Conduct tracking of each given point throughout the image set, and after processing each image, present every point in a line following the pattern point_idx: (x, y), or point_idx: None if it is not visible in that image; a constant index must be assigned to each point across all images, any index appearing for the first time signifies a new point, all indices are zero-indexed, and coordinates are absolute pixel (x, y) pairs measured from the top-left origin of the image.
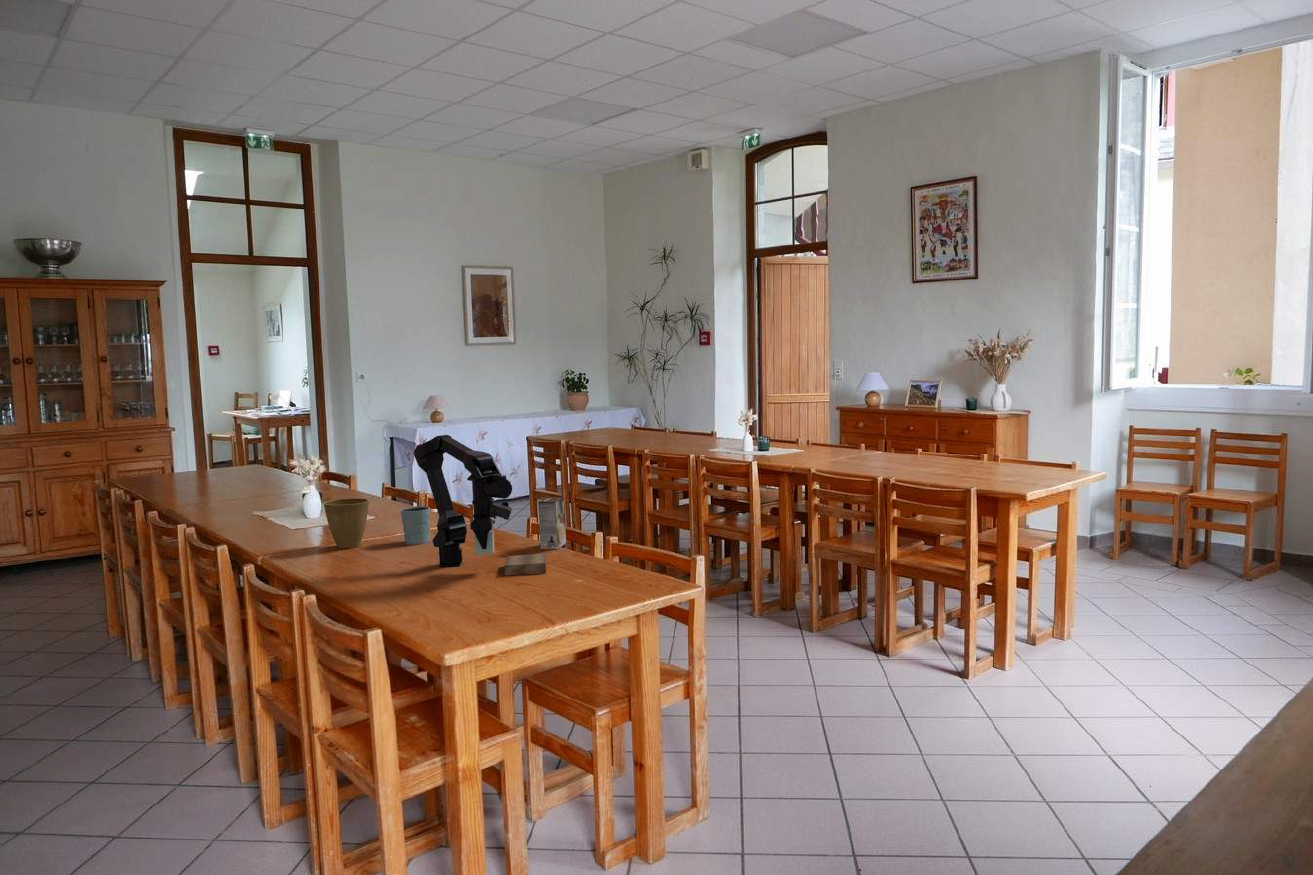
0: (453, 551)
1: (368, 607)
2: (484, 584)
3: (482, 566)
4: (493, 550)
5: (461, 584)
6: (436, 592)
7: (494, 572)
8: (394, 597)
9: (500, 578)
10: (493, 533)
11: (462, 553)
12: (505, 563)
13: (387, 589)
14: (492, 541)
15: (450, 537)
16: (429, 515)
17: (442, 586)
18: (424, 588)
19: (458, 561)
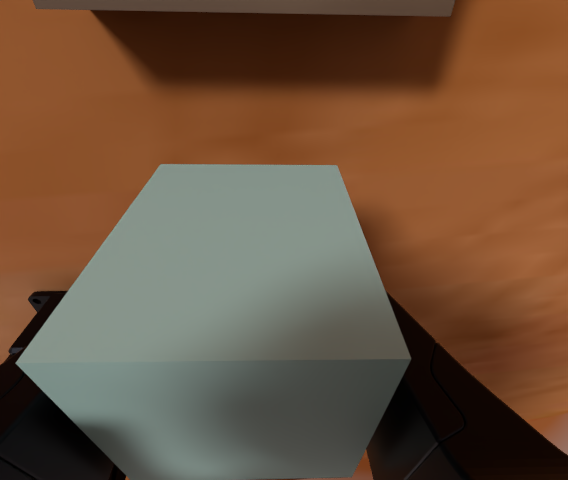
0: None
1: (557, 407)
2: (563, 151)
3: (127, 194)
4: (289, 176)
5: (477, 254)
6: (537, 314)
7: (293, 109)
8: (504, 385)
9: (484, 51)
10: (88, 314)
11: (30, 322)
12: (372, 10)
13: None
14: (369, 250)
15: (110, 477)
16: None
17: (461, 308)
18: (452, 346)
19: None
